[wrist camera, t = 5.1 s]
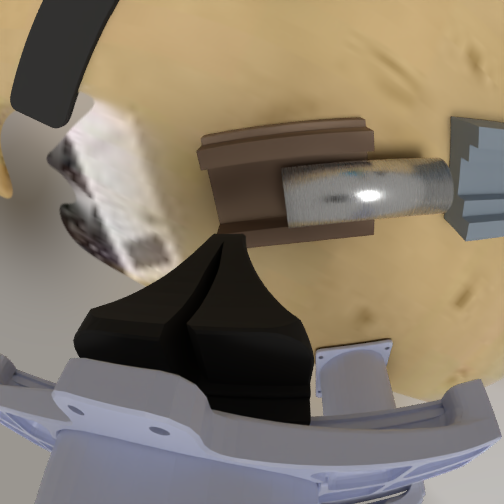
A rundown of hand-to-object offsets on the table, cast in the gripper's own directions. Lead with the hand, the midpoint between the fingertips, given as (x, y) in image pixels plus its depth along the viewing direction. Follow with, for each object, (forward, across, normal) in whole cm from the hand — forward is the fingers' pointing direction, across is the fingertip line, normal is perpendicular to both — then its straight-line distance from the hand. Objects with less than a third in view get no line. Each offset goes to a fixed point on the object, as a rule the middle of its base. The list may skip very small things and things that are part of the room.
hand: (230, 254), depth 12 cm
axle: (+6, -7, -1) cm, 9 cm away
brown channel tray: (+8, -3, 0) cm, 9 cm away
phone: (+9, +13, -14) cm, 21 cm away
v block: (+8, -19, -2) cm, 21 cm away
